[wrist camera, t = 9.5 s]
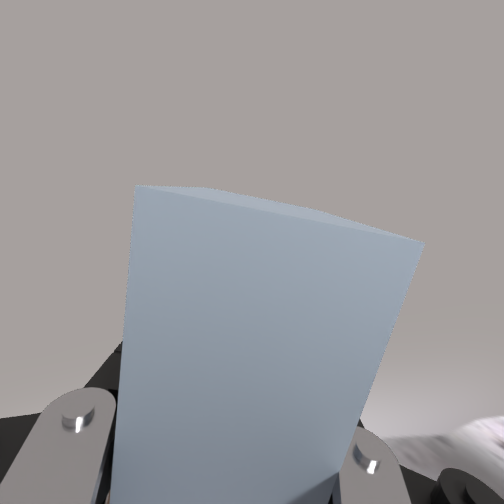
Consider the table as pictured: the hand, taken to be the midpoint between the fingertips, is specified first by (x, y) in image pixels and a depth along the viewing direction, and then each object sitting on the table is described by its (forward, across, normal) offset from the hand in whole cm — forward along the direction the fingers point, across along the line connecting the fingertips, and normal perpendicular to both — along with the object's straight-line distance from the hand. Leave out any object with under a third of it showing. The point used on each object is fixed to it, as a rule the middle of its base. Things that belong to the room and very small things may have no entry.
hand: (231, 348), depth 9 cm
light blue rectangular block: (-2, 0, +6) cm, 7 cm away
